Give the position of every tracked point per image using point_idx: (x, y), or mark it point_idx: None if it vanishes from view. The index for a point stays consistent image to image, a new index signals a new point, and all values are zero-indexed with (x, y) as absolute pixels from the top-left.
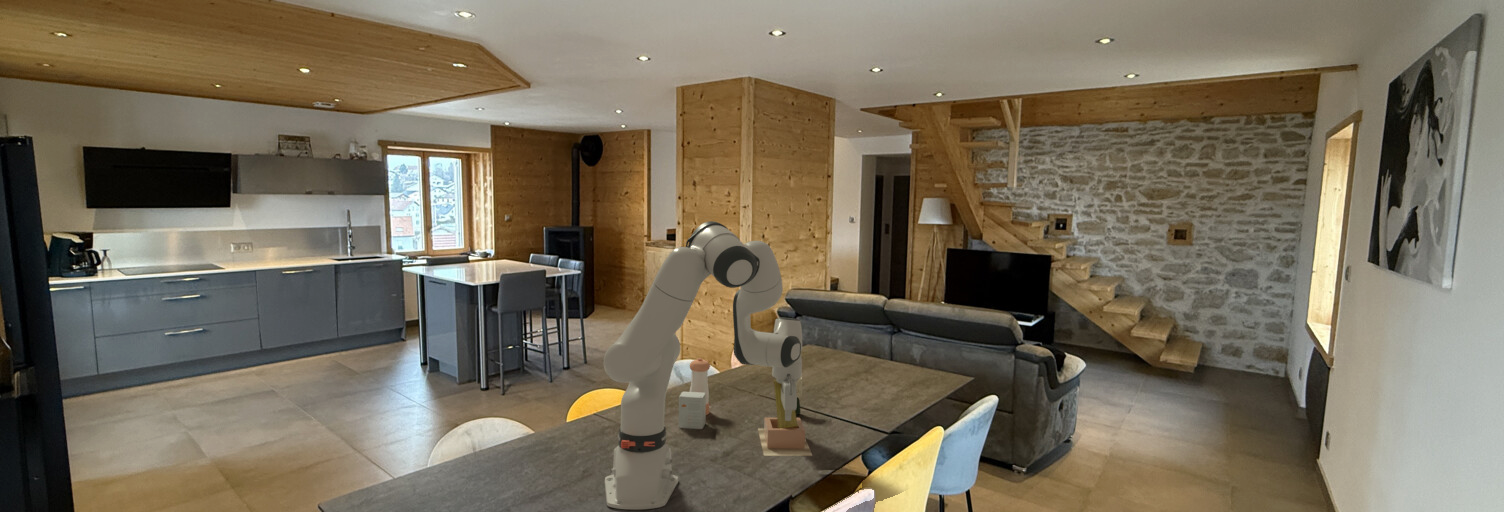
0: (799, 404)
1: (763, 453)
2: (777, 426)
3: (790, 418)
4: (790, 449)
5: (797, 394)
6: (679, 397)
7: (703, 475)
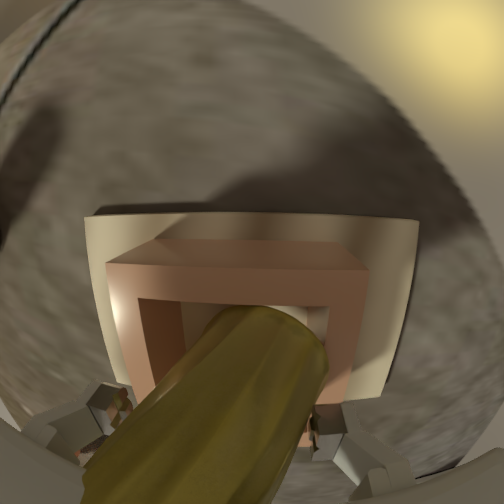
0: None
1: (362, 398)
2: (170, 368)
3: (355, 414)
4: None
5: None
6: None
7: (411, 464)
